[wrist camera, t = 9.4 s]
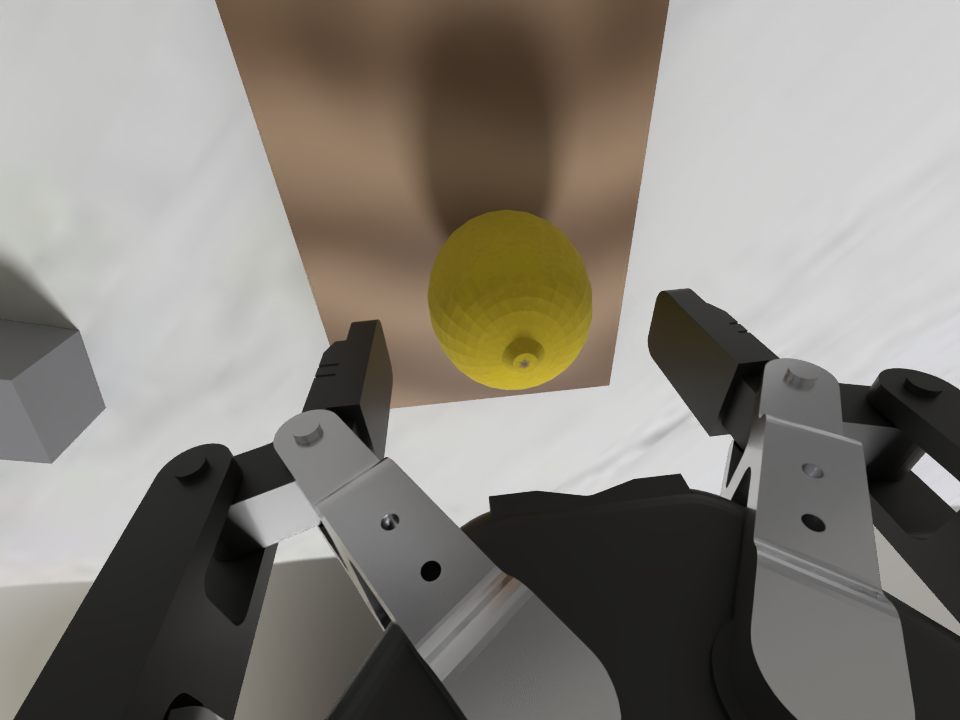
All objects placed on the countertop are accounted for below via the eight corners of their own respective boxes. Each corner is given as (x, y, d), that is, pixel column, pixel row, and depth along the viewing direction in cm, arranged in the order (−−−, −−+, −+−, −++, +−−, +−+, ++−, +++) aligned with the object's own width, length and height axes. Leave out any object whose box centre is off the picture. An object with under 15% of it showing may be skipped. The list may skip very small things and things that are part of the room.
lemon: (508, 153, 15) (554, 219, 9) (584, 260, 18) (662, 371, 12) (403, 247, 17) (377, 359, 11) (486, 332, 20) (505, 462, 13)
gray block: (-48, 310, 19) (-150, 361, 15) (81, 328, 20) (11, 380, 16) (-4, 394, 21) (-83, 452, 18) (107, 406, 22) (51, 463, 19)
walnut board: (218, -48, 13) (194, -60, 12) (660, -77, 13) (683, -92, 12) (356, 394, 23) (352, 412, 22) (600, 369, 24) (609, 385, 23)
